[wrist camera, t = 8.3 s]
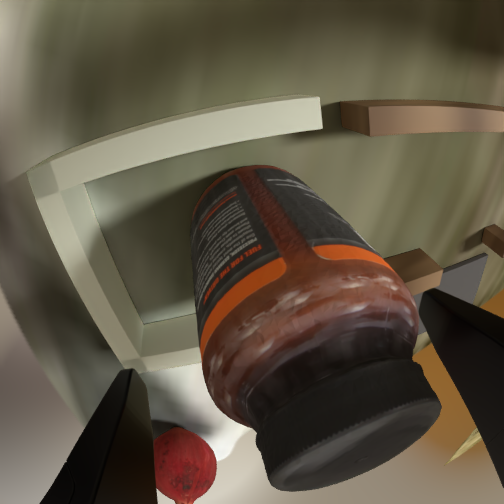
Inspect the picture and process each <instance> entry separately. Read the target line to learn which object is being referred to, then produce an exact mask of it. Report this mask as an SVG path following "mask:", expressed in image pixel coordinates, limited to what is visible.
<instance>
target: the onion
mask: <svg viewBox="0 0 504 504" xmlns="http://www.w3.org/2000/svg"><path fill="white" fill-rule="evenodd" d="M153 441H154V462H155V478H156V488H157V489H158V490H159V491H160V492H161V493H162V494H164V495H165V496H167V497H168V498H170V499H172V500H174V501H175V503H176V504H193V503H194V501H195V500H196V499H197V498H199V497H201V496H202V495H203V494H205V493H206V492H207V491H208V489H209V488H210V487H211V485H212V484H213V482H214V480H215V476H216V469H217V466H216V465H217V464H216V457H215V454H214V451H213V450H212V449H211V447H210V446H209V445H208V444H207V443H206V442H205V441H204V440H203V439H202V438H201V437H199V436H198V435H197V434H195V433H193V432H191V431H188V430H186V429H184V428H181V427H174V428H171V430H169V431H167V432H165V433H163V434H162V435H160V436H159V437H157V438H156V439H155V440H153Z"/></svg>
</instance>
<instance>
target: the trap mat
mask: <svg viewBox="0 0 504 504" xmlns="http://www.w3.org/2000/svg"><path fill="white" fill-rule="evenodd" d="M487 257H488V255H487V254H486V253H483V254H481V255H478V256H476V257H473V258H471V259H468V260H466V261H463V262H460V263H458V264H455V265H453V266H450V267H447V268H445V269H443V273H442V277H441V281H440V285H439V286H437V287H434V288H436V289H439V290H441V291H443V292H446V293H448V294H450V295H453V296H455V297H457V298H459V299H462V300H464V301H466V302H468V303H471V304H473V301H474V298H475V295H476V293H477V290H478V287H479V284H480V281H481V277H482V274H483V271H484V268H485V264H486V261H487ZM422 294H423V292H422V293H419V294H416V295H414V296H413V297H414V299H415V302H416V305H417V310H419V305H420V302H421V297H422ZM418 315H419V312H418ZM418 330H419V332H418V335H419V334H421V333H424V332H426V329H425V327H424V325H423V323H422V321H421V319H420V317H419V328H418Z"/></svg>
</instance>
